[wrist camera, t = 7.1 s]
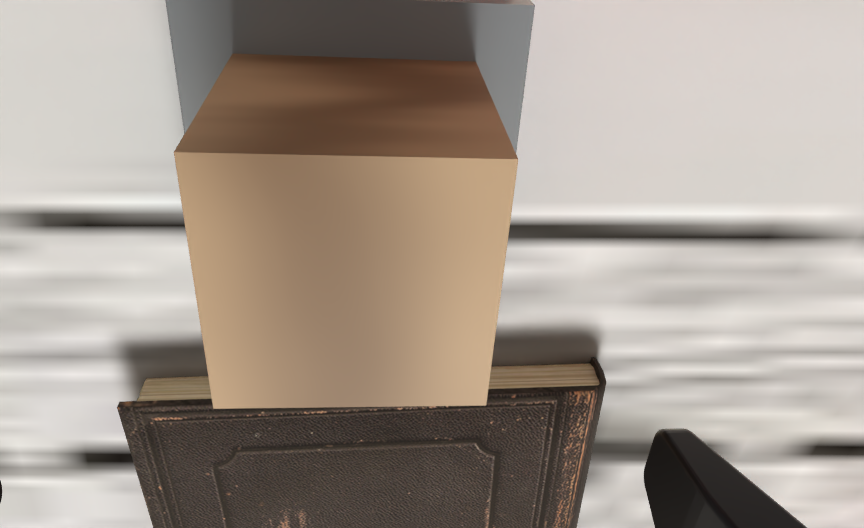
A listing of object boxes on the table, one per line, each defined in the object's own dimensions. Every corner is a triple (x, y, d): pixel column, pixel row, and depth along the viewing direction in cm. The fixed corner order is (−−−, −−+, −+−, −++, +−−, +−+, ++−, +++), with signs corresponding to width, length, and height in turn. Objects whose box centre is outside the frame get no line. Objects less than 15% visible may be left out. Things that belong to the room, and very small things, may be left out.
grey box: (515, -18, 18) (534, 5, 16) (485, 253, 22) (497, 299, 20) (189, -31, 17) (164, -10, 15) (224, 251, 21) (208, 299, 19)
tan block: (476, 61, 16) (517, 158, 11) (458, 263, 19) (486, 405, 14) (232, 53, 16) (173, 152, 11) (252, 261, 19) (213, 408, 14)
